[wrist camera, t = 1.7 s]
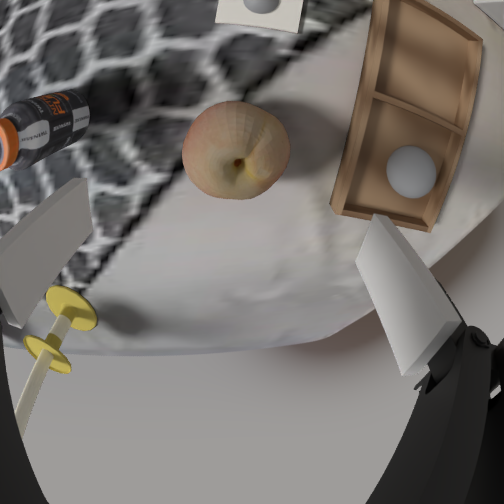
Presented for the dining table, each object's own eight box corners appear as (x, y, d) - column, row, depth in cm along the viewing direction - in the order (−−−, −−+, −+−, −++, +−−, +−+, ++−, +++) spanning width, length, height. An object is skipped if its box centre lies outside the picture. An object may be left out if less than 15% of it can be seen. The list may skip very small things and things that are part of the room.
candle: (51, 274, 33) (-32, 430, 11) (104, 309, 37) (45, 478, 15) (43, 307, 38) (-18, 438, 15) (89, 337, 41) (42, 475, 19)
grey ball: (385, 133, 23) (411, 147, 19) (424, 148, 23) (452, 163, 19) (372, 180, 25) (393, 201, 21) (411, 190, 26) (434, 212, 22)
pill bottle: (98, 96, 21) (21, 118, 11) (83, 149, 24) (14, 195, 14) (56, 84, 19) (-22, 105, 10) (44, 135, 22) (-27, 173, 13)
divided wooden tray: (374, -13, 14) (385, -19, 12) (469, 39, 15) (482, 39, 13) (329, 203, 28) (335, 214, 26) (420, 222, 29) (430, 233, 27)
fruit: (247, 195, 27) (245, 238, 21) (178, 150, 25) (152, 179, 18) (300, 133, 24) (319, 156, 17) (228, 81, 21) (218, 80, 14)
